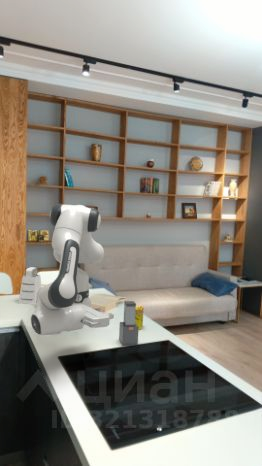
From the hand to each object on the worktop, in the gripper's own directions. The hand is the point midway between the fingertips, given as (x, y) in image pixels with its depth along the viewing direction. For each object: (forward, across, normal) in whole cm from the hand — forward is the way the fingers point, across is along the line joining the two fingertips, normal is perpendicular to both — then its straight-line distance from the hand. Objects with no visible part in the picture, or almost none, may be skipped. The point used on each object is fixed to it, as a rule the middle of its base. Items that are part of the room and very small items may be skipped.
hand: (105, 312), depth 141 cm
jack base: (+12, 0, +16) cm, 20 cm away
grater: (+2, +81, +15) cm, 83 cm away
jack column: (+12, 0, +15) cm, 19 cm away
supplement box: (+27, +14, +16) cm, 34 cm away
